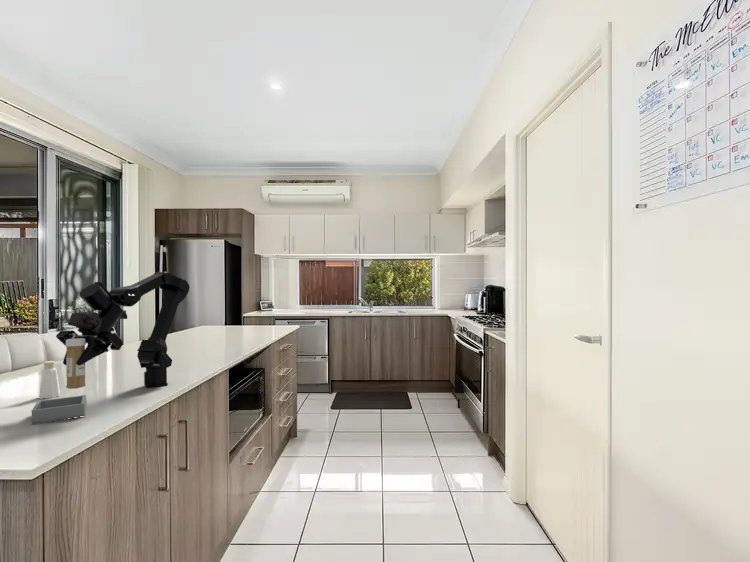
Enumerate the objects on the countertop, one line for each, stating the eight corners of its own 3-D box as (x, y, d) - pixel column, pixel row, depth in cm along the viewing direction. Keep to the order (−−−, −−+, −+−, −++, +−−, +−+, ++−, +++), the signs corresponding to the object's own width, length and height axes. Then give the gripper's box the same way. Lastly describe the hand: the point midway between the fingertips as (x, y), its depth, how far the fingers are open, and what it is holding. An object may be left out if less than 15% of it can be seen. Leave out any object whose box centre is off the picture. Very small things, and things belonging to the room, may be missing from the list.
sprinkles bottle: (85, 387, 122) (85, 338, 122) (65, 389, 119) (65, 340, 120) (85, 384, 126) (85, 337, 126) (66, 386, 123) (66, 338, 123)
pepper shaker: (57, 393, 142) (56, 359, 142) (62, 396, 139) (62, 361, 139) (36, 397, 138) (36, 361, 138) (41, 399, 135) (41, 363, 135)
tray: (86, 407, 126) (86, 394, 126) (84, 417, 116) (84, 403, 116) (38, 413, 120) (37, 400, 120) (31, 424, 110) (31, 410, 110)
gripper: (61, 302, 129) (23, 345, 118) (114, 302, 124) (79, 347, 113) (85, 327, 136) (51, 369, 126) (136, 327, 132) (105, 371, 121)
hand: (71, 364), depth 121 cm, fingers closed on sprinkles bottle, 4 cm apart
